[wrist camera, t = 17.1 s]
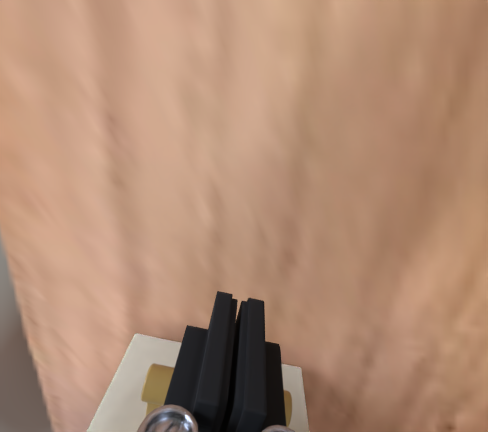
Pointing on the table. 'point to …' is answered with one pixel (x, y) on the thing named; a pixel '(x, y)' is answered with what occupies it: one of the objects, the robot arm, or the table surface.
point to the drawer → (157, 383)
